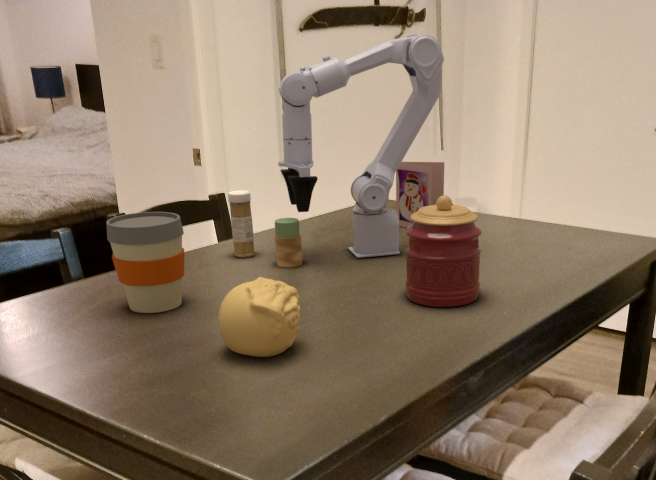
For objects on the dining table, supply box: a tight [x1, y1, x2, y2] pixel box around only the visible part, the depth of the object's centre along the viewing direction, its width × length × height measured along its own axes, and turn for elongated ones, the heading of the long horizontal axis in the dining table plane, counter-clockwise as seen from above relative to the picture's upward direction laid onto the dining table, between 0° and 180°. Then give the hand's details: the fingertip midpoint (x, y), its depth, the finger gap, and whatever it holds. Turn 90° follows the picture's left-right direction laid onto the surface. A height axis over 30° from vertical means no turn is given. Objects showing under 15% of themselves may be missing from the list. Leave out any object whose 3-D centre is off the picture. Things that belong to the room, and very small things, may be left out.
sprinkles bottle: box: [227, 189, 256, 258], centre depth 160 cm, size 5×5×14 cm
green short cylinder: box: [274, 217, 300, 238], centre depth 153 cm, size 5×5×3 cm
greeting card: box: [395, 161, 445, 229], centre depth 180 cm, size 11×7×15 cm, turn 43°
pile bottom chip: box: [275, 249, 303, 269], centre depth 155 cm, size 5×5×3 cm
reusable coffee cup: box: [106, 211, 185, 314], centre depth 131 cm, size 13×13×15 cm
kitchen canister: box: [405, 195, 483, 308], centre depth 131 cm, size 13×13×18 cm
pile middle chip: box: [274, 233, 303, 253], centre depth 154 cm, size 5×5×3 cm
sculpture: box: [217, 276, 301, 358], centre depth 111 cm, size 11×12×11 cm
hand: (299, 207), depth 156 cm, fingers open, 7 cm apart
